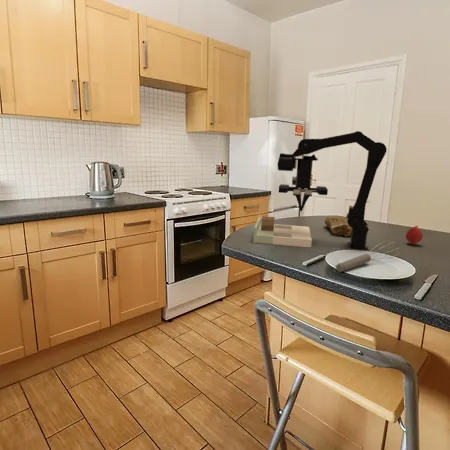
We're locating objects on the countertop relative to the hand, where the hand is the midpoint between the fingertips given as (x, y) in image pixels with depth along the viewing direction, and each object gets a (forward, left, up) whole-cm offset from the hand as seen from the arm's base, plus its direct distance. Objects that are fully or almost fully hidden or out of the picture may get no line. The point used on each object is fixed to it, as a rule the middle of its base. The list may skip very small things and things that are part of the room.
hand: (300, 210), depth 135 cm
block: (0, +13, -9) cm, 16 cm away
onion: (+6, -45, -12) cm, 47 cm away
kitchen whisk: (-24, -22, -12) cm, 35 cm away
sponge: (+20, -18, -12) cm, 29 cm away
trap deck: (0, +7, -12) cm, 13 cm away
